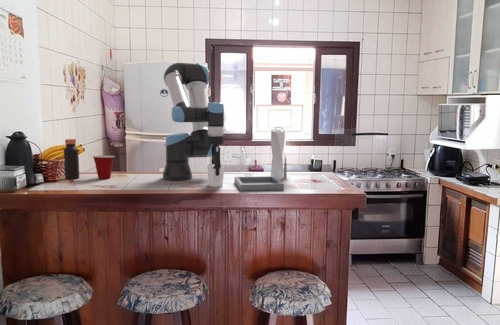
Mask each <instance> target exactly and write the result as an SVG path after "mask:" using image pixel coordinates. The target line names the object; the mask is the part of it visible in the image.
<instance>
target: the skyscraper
mask: <svg viewBox="0 0 500 325" xmlns="http://www.w3.org/2000/svg"><path fill="white" fill-rule="evenodd" d="M270 132H271V133H270V147H271V148H270V149H271V155H272V156H271V167H270V176H274V177H275V178H277V179H278V180H279V181H281V180H282V181H285V180H287V179H288V177H287V176H288V175H287V174H288V173H287V172H288V171H287V169H288V167H287V155H285V157H284V158H283V153H284V148H285V139H286V138H285V137H286V131H285V129H284V128H283V127H281V126H276V127H274V129H273V128H272V129H271V131H270ZM283 159H284V160H283ZM283 162H284V163H283ZM282 181H281V182H282Z"/></svg>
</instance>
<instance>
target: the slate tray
mask: <svg viewBox="0 0 500 325" xmlns="http://www.w3.org/2000/svg"><path fill="white" fill-rule="evenodd" d="M234 184H235V185H236V187H237V189H238V190H239V192H270V191H271V192H274V191H284V189H285V188H284V187H285V186H284V185H285V184H284V182H282V181H281V180H278V179H277V178H275V177H274V176H271V175H270V176H267V175H266V176H265V175H264V176H234Z"/></svg>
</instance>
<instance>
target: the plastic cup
mask: <svg viewBox="0 0 500 325" xmlns="http://www.w3.org/2000/svg"><path fill="white" fill-rule="evenodd" d="M92 157H93V161H94V163H95V169H96V173H97V174H96V175H97V178H98V180H109V179H111V176H112V171H113V170H112V169H113V163H114V159H115V157H116V156H115V155H107V154H106V155H99V154H98V155H92Z"/></svg>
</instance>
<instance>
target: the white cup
mask: <svg viewBox="0 0 500 325" xmlns="http://www.w3.org/2000/svg"><path fill="white" fill-rule="evenodd" d="M220 164H221V168H220V182H219V183H214V169H213V167H215V165H214V164H212V163H209V164H207V180H208V182H207V183H208V186H209V187H212V188H221V187H223V186H224V173H225V171H224V169H225V165H224V164H222V163H220Z"/></svg>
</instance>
